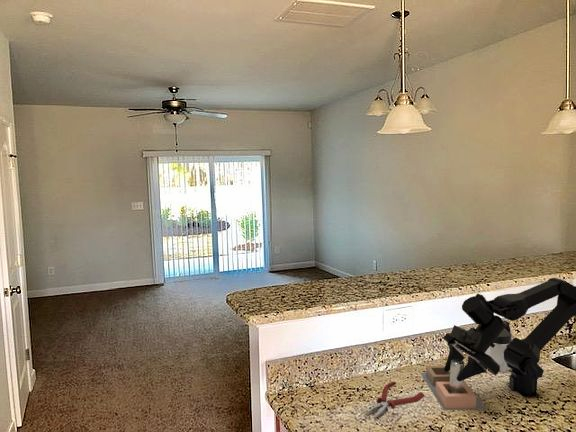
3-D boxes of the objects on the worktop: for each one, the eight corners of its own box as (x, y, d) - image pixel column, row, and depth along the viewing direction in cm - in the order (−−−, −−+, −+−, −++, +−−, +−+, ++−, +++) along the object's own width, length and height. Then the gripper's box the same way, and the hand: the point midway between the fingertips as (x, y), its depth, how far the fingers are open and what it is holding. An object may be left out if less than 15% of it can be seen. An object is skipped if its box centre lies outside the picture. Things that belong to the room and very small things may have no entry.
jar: (478, 361, 152) (479, 327, 151) (501, 360, 153) (502, 326, 152) (492, 373, 143) (493, 337, 142) (516, 371, 144) (517, 336, 143)
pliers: (352, 412, 123) (352, 403, 123) (392, 387, 137) (392, 379, 137) (387, 429, 115) (387, 420, 114) (426, 400, 129) (426, 392, 128)
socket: (464, 392, 129) (464, 381, 129) (476, 408, 121) (476, 396, 121) (435, 393, 130) (435, 381, 129) (445, 408, 121) (445, 396, 121)
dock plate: (457, 375, 142) (457, 363, 142) (487, 413, 120) (487, 399, 120) (420, 376, 142) (420, 364, 142) (443, 413, 121) (443, 399, 120)
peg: (454, 395, 128) (456, 357, 126) (464, 401, 125) (467, 362, 123) (445, 398, 126) (448, 360, 125) (456, 404, 123) (458, 365, 122)
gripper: (449, 306, 133) (415, 346, 131) (491, 327, 115) (454, 373, 113) (471, 328, 136) (438, 367, 134) (516, 352, 118) (479, 398, 116)
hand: (451, 375), depth 124 cm, fingers open, 6 cm apart
